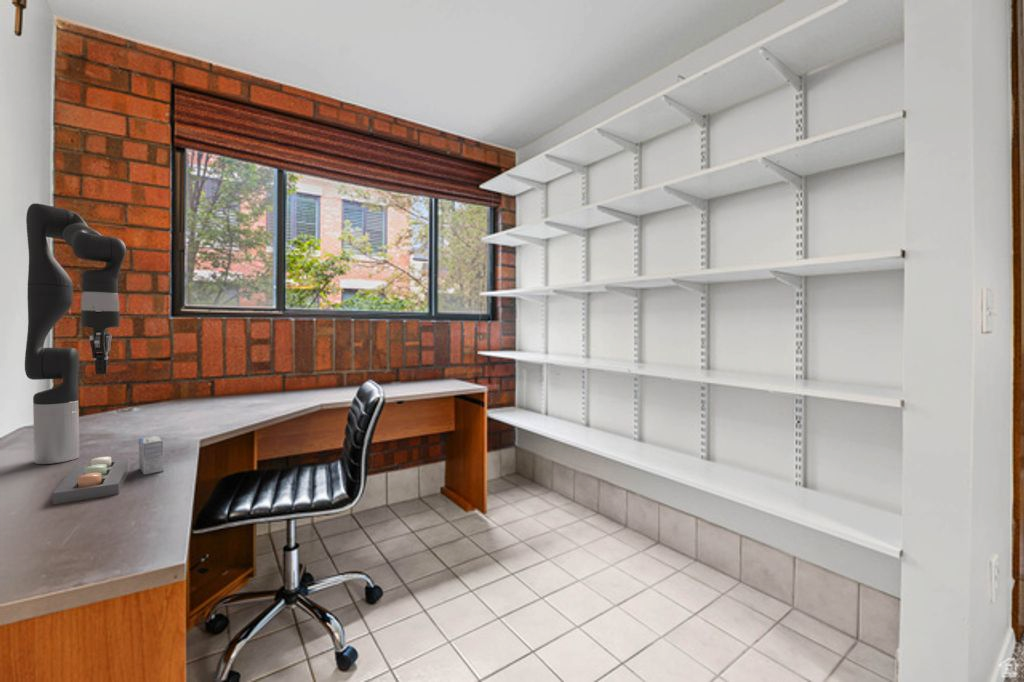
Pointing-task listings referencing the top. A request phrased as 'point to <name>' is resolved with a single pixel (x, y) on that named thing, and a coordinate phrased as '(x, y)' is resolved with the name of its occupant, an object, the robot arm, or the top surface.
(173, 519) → the top surface
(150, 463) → the medicine box
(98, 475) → the orange button
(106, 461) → the ivory button
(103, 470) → the sage button
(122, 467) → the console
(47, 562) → the top surface
